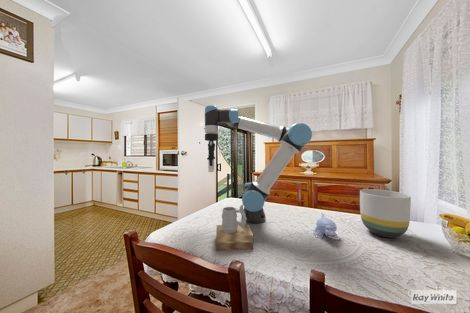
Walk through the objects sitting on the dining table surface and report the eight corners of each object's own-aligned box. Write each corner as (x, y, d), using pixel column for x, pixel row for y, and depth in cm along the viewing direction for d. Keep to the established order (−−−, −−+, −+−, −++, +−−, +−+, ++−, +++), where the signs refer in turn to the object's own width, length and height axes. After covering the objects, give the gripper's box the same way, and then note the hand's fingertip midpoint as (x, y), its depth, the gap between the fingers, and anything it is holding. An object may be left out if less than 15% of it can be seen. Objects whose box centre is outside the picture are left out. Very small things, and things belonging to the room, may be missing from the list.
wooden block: (248, 235, 87) (248, 223, 87) (253, 248, 75) (253, 235, 75) (216, 237, 86) (216, 225, 86) (216, 250, 74) (216, 236, 74)
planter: (399, 230, 93) (400, 191, 93) (419, 248, 76) (419, 199, 75) (356, 224, 101) (356, 188, 101) (364, 239, 84) (365, 195, 83)
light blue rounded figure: (318, 243, 80) (318, 223, 80) (311, 229, 95) (311, 212, 94) (344, 246, 78) (344, 225, 77) (333, 231, 92) (333, 213, 92)
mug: (222, 226, 85) (222, 201, 84) (247, 227, 83) (247, 202, 83) (219, 233, 77) (219, 206, 77) (246, 234, 76) (246, 207, 75)
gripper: (206, 135, 111) (206, 168, 111) (202, 130, 86) (202, 173, 86) (218, 135, 111) (218, 168, 112) (217, 130, 87) (218, 173, 87)
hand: (211, 170), depth 99 cm, fingers open, 13 cm apart
